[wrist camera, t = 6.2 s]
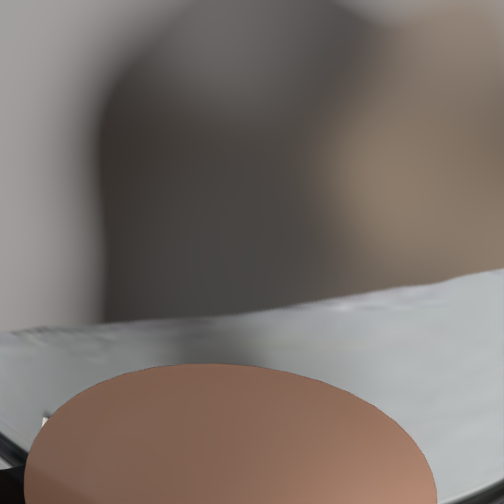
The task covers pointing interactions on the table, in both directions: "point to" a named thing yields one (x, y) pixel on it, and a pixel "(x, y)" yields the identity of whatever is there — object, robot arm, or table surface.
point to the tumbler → (223, 443)
